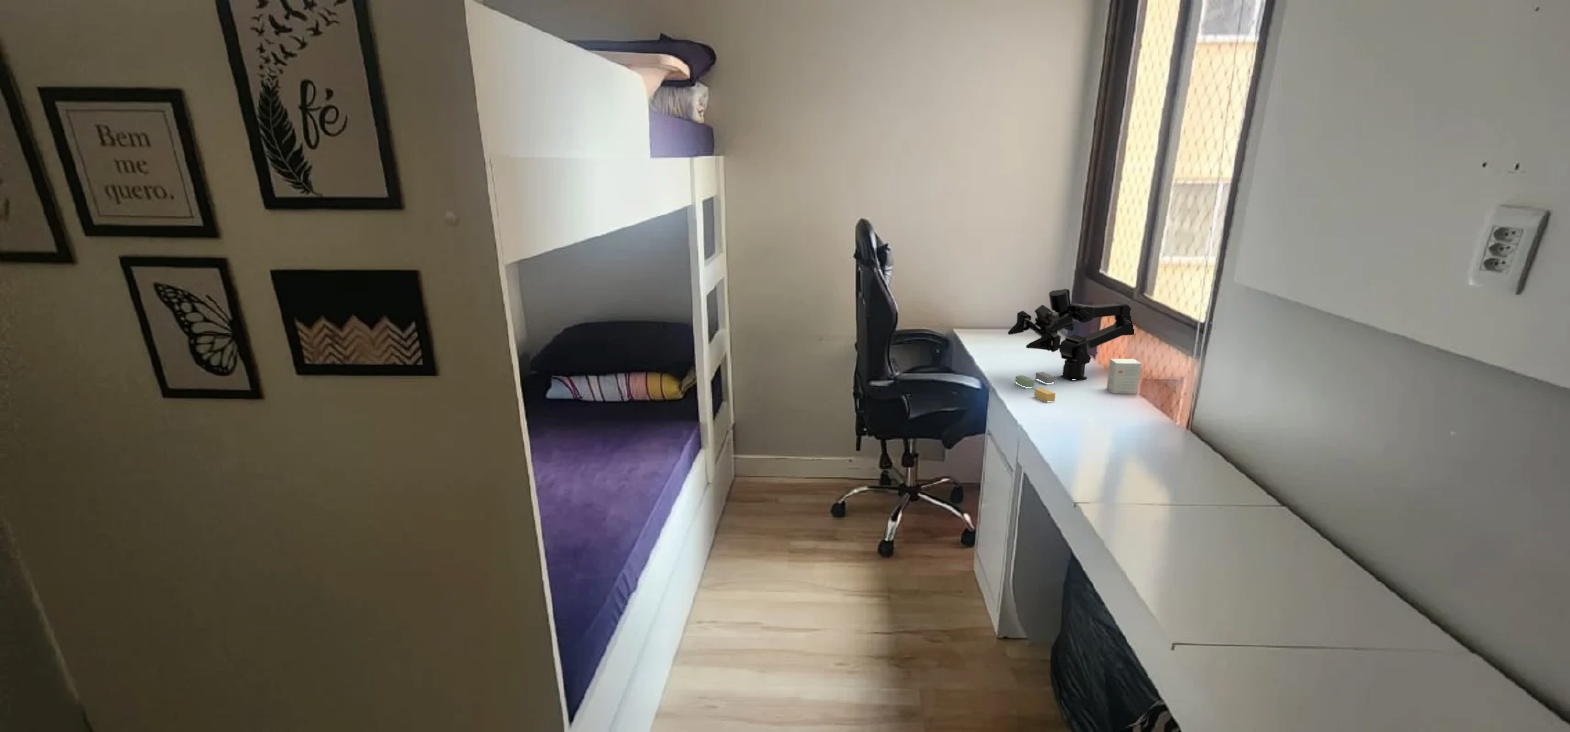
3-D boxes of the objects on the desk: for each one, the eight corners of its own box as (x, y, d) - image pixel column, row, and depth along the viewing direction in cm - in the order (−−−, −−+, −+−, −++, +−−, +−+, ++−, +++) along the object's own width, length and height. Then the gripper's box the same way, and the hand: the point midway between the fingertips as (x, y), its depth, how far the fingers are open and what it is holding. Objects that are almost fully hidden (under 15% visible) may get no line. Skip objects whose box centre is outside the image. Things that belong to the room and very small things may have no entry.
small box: (1131, 389, 225) (1135, 358, 222) (1137, 394, 220) (1142, 363, 217) (1105, 388, 226) (1109, 358, 223) (1112, 393, 221) (1116, 362, 218)
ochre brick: (1034, 397, 218) (1034, 388, 218) (1041, 396, 219) (1042, 387, 219) (1046, 403, 213) (1047, 394, 212) (1054, 402, 214) (1055, 393, 213)
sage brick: (1015, 384, 232) (1015, 376, 231) (1022, 383, 233) (1023, 375, 232) (1026, 389, 227) (1026, 380, 226) (1033, 388, 228) (1034, 380, 227)
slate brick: (1035, 381, 236) (1035, 372, 235) (1042, 380, 237) (1043, 371, 236) (1046, 385, 230) (1047, 377, 229) (1053, 384, 231) (1054, 376, 230)
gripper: (1037, 291, 231) (1000, 307, 228) (1077, 316, 217) (1037, 334, 214) (1035, 317, 238) (999, 333, 235) (1074, 343, 224) (1035, 361, 221)
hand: (1017, 339), depth 226 cm, fingers open, 9 cm apart
